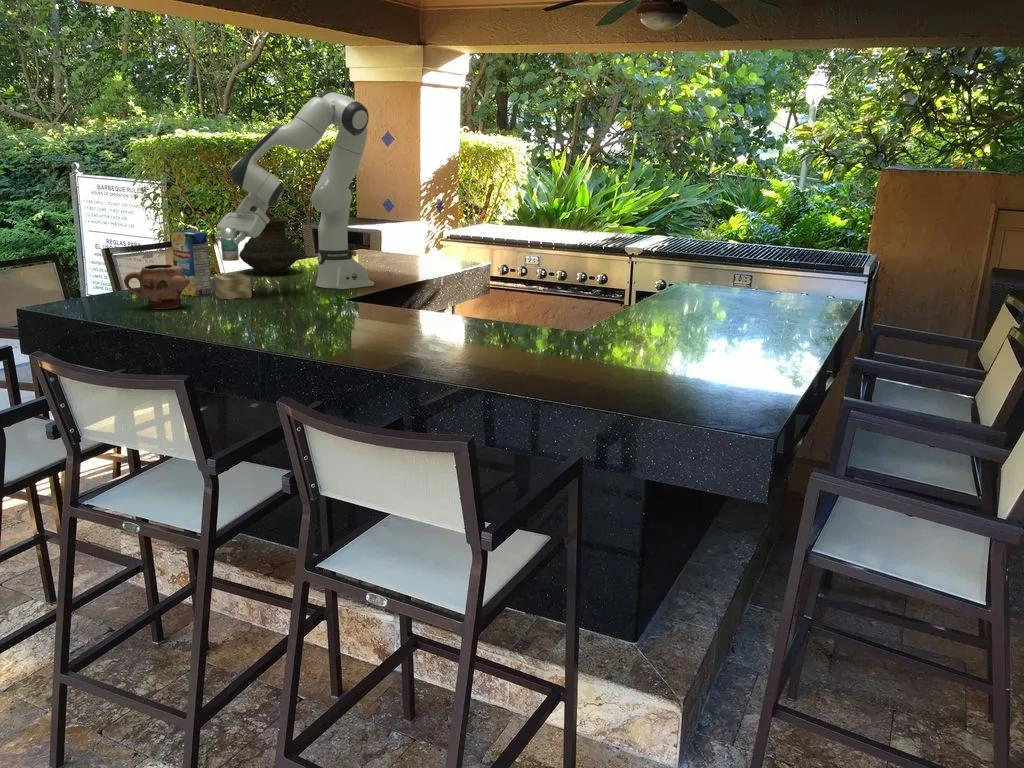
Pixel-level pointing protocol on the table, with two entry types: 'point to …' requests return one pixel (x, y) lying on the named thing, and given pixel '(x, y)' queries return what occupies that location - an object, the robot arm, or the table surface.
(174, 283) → the decorative planter
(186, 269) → the beverage box
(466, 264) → the table surface
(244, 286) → the oak block
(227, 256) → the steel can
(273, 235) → the ceramic pot
